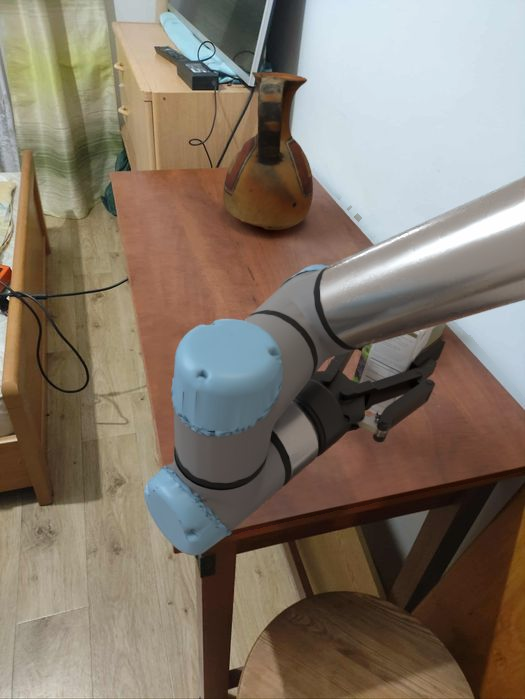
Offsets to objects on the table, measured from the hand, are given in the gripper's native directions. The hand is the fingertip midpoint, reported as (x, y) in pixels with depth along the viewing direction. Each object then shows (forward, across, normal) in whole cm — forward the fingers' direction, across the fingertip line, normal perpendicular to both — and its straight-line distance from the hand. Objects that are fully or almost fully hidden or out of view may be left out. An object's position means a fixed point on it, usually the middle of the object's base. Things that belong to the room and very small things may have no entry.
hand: (414, 335), depth 64 cm
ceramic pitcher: (+30, -53, -15) cm, 63 cm away
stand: (+18, -10, -15) cm, 25 cm away
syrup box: (-5, 0, -8) cm, 10 cm away
